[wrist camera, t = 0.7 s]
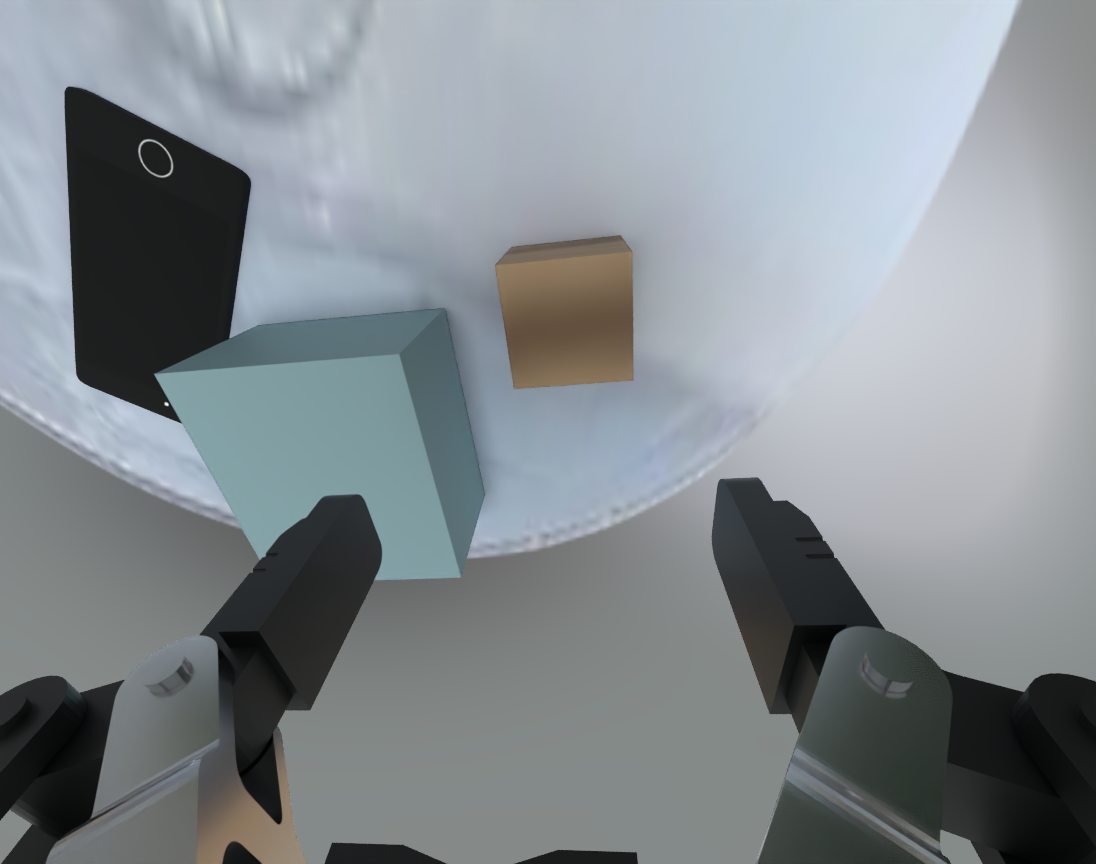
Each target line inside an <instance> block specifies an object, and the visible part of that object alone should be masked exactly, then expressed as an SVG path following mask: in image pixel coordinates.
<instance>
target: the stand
mask: <svg viewBox="0 0 1096 864" xmlns="http://www.w3.org/2000/svg"><path fill="white" fill-rule="evenodd" d="M154 375H155V377H156V378H157V380H158V382H159V384H160V385H161V387H162V389H163V391H164V392H165V394H166V396H167V398H168V399H169V401H170V403H171V405H172V406H173V408H174V410H175V412H176V413H177V415H178V417H179V419H180V420H181V422H182V424H183V426H184V428H185V429H186V431H187V433H188V435H189V436H190V438H191V440H192V442H193V443H194V445H195V447H196V449H197V450H198V452H199V454H200V456H201V457H202V459H203V461H204V463H205V464H206V466H207V468H208V470H209V471H210V473H211V475H212V477H213V478H214V480H215V482H216V484H217V485H218V487H219V489H220V491H221V492H222V494H223V496H224V498H225V499H226V501H227V503H228V505H229V506H230V508H231V510H232V512H233V513H234V515H235V517H236V519H237V521H238V522H239V524H240V526H241V528H242V529H243V531H244V533H245V535H246V536H247V538H248V540H249V541H250V543H251V545H252V547H253V549H254V550H255V552H256V554H257V556H258V557H259V559H260V560H261V558H262V557H265V556H266V552H267V551H268V550H269V548H270V547H271V546H272V545H273V544H274V542H275V541H276V540H277V539H278V537H279V536H280V535H281V534H282V533H284V532H285V531H286V530H288V529H289V528H290V527H292V526H293V525H294V524H295V523H297V522H298V521H299V520H301V519H303V518H306V517H307V516H308V514H309V513H310V512H311V511H312V509H313V508H314V507H315V505H316V504H317V503H318V502H319V500H320V499H321V498H322V497H324V496H328V495H349V494H359V495H361V496H362V497H363V498H364V500H365V502H366V505H367V507H368V510H369V513H370V515H371V518H372V521H373V523H374V526H375V529H376V531H377V534H378V536H379V539H380V542H381V546H382V561H381V566H380V569H379V571H378V573H377V575H376V577H375V579H374V580H393V579H394V580H395V579H427V578H459V577H461V576H462V572H463V569H464V565H465V562H466V558H467V555H468V551H469V548H470V545H471V541H472V538H473V534H474V531H475V527H476V524H477V520H478V517H479V513H480V510H481V506H482V503H483V499H484V496H485V494H484V489H483V484H482V480H481V475H480V470H479V466H478V461H477V456H476V451H475V447H474V442H473V437H472V433H471V428H470V423H469V419H468V414H467V409H466V405H465V400H464V395H463V391H462V386H461V381H460V377H459V372H458V367H457V363H456V358H455V353H454V349H453V344H452V339H451V335H450V330H449V325H448V321H447V316H446V311H445V308H441V309H430V310H419V311H408V312H397V313H386V314H376V315H365V316H354V317H343V318H332V319H321V320H310V321H299V322H288V323H277V324H266V325H258V326H256V327H254V328H252V329H249V330H247V331H245V332H243V333H241V334H239V335H237V336H234V337H232V338H230V339H228V340H226V341H224V342H222V343H220V344H217V345H215V346H213V347H211V348H209V349H207V350H205V351H202V352H200V353H198V354H196V355H194V356H192V357H190V358H187V359H185V360H183V361H181V362H179V363H177V364H175V365H173V366H170V367H168V368H166V369H164V370H162V371H160V372H158V373H155V374H154Z"/></svg>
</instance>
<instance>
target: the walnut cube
mask: <svg viewBox="0 0 1096 864" xmlns="http://www.w3.org/2000/svg"><path fill="white" fill-rule="evenodd" d="M495 268H496V274H497V281H498V288H499V294H500V301H501V307H502V314H503V320H504V327H505V333H506V340H507V346H508V353H509V359H510V366H511V372H512V379H513V386H514V389H521V388H534V387H548V386H562V385H576V384H590V383H603V382H617V381H631V380H633V291H632V251H631V249H630V248H629V247H628V245H627V244H626V242H625V241H624V240H623V238H622V237H621V236H611V237H602V238H592V239H582V240H573V241H563V242H554V243H544V244H535V245H525V246H515V247H511V248H510V249H509V251H508V252H507V253H506V254H505V255H504V256H503V257H502V258H501V259H500V260H499V262H498V263H497V264H496V265H495Z"/></svg>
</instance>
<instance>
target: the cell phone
mask: <svg viewBox="0 0 1096 864" xmlns="http://www.w3.org/2000/svg"><path fill="white" fill-rule="evenodd" d="M65 127H66V150H67V173H68V197H69V220H70V244H71V267H72V291H73V314H74V337H75V361H76V374H77V377H78V379H79V380H80V381H81V382H83V383H84V384H86V385H88V386H90V387H93V388H95V389H98V390H100V391H102V392H105V393H107V394H110V395H112V396H115V397H117V398H120V399H122V400H125V401H127V402H130V403H132V404H135V405H137V406H140V407H142V408H145V409H147V410H150V411H152V412H154V413H157V414H159V415H162V416H164V417H167V418H169V419H172V420H174V421H177V422H179V423H182V422H181V420H180V419H179V417H178V415H177V413H176V412H175V410H174V408H173V406H172V405H171V403H170V401H169V399H168V398H167V396H166V394H165V392H164V391H163V389H162V387H161V385H160V384H159V382H158V380H157V378H156V377H155V375H154V374H155V373H158V372H160V371H162V370H164V369H166V368H168V367H170V366H173V365H175V364H177V363H179V362H181V361H183V360H185V359H187V358H190V357H192V356H194V355H196V354H198V353H200V352H202V351H205V350H207V349H209V348H211V347H213V346H215V345H217V344H220V343H222V342H224V341H226V340H228V339H229V335H230V328H231V321H232V314H233V307H234V300H235V293H236V286H237V279H238V272H239V265H240V258H241V251H242V244H243V237H244V229H245V222H246V215H247V208H248V201H249V194H250V187H251V182H250V179H249V177H248V175H247V174H246V173H244V172H243V171H242V170H240V169H238V168H237V167H235V166H233V165H231V164H230V163H228V162H226V161H224V160H222V159H220V158H218V157H216V156H214V155H212V154H210V153H208V152H206V151H204V150H202V149H200V148H198V147H197V146H195V145H193V144H191V143H189V142H187V141H185V140H183V139H181V138H179V137H177V136H175V135H173V134H171V133H169V132H167V131H165V130H164V129H162V128H160V127H158V126H156V125H154V124H152V123H150V122H148V121H146V120H144V119H142V118H140V117H138V116H136V115H134V114H132V113H131V112H129V111H127V110H125V109H123V108H121V107H119V106H117V105H115V104H113V103H111V102H109V101H107V100H105V99H103V98H101V97H99V96H98V95H96V94H94V93H91V92H89V91H87V90H84V89H80V88H75V87H67V88H66V90H65Z"/></svg>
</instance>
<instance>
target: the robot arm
mask: <svg viewBox="0 0 1096 864" xmlns="http://www.w3.org/2000/svg"><path fill="white" fill-rule="evenodd" d="M712 546H713V553H714V558H715V561H716V564H717V567H718V570H719V573H720V576H721V578H722V581H723V584H724V587H725V590H726V592H727V595H728V598H729V601H730V604H731V606H732V609H733V612H734V615H735V618H736V620H737V623H738V626H739V629H740V632H741V634H742V637H743V640H744V643H745V646H746V648H747V651H748V654H749V657H750V660H751V662H752V665H753V668H754V671H755V674H756V677H757V679H758V682H759V685H760V688H761V691H762V693H763V696H764V699H765V702H766V704H767V707H768V710H769V713H770V714H792V717H793V719H794V722H795V725H796V727H797V729H798V732H799V737H798V740H797V743H796V746H795V749H794V752H793V755H792V758H791V760H790V764H789V767H788V770H787V772H786V775H785V778H784V781H783V784H782V787H781V790H780V793H779V796H778V799H777V802H776V805H775V808H774V811H773V814H772V817H771V819H770V822H769V825H768V828H767V831H766V834H765V837H764V840H763V843H762V846H761V849H760V852H759V855H758V858H757V861H756V864H951V863H950V861H949V860H948V858H946V857H945V856H943V855H942V853H941V849H940V831H941V830H944V831H947V832H950V833H952V834H955V835H958V836H960V837H963V838H966V839H969V840H970V841H971V843H972V845H973V847H974V848H975V850H976V852H977V854H978V856H979V857H980V859H981V861H982V863H983V864H1096V682H1095V681H1092V680H1089V679H1086V678H1082V677H1078V676H1074V675H1068V674H1060V673H1056V674H1046V675H1041V676H1040V677H1038V678H1036V679H1034V681H1033V682H1032V683H1031V684H1030V685H1029V687H1028V688H1027V689H1026V690H1025V692H1021V691H1017V690H1014V689H1009V688H1006V687H1002V686H998V685H994V684H990V683H986V682H983V681H979V680H975V679H971V678H967V677H963V676H960V675H956V674H953V673H950V672H947V671H944V670H942V669H941V668H940V667H939V666H938V665H937V663H936V662H935V661H934V660H933V659H932V658H931V657H930V656H929V655H927V654H926V653H925V652H924V651H923V650H921V649H920V648H918V646H916V645H915V644H913V643H911V642H910V641H908V640H906V639H905V638H902V637H901V636H899V635H897V634H894V633H892V632H889V631H886V630H885V629H884V627H883V626H882V625H881V623H880V622H879V620H878V619H877V617H876V616H875V614H874V613H873V611H872V610H871V608H870V607H869V605H868V604H867V602H866V601H865V599H864V598H863V596H862V595H861V593H860V592H859V590H858V589H857V588H856V586H855V585H854V583H853V581H852V580H851V578H850V577H849V576H848V574H847V573H846V571H845V570H844V568H843V567H842V565H841V564H840V562H839V561H838V559H837V558H834V553H833V552H832V550H831V549H830V547H829V546H828V544H827V543H826V541H823V539H822V535H821V534H820V533H819V531H818V530H817V528H816V526H815V525H814V523H813V522H812V521H811V519H810V518H809V517H808V516H807V515H806V514H804V513H803V512H802V511H800V510H799V509H798V508H797V507H795V506H794V505H793V504H791V503H790V502H788V501H773V500H772V498H771V497H770V495H769V493H768V492H767V490H766V488H765V487H764V485H763V484H762V482H761V480H760V479H759V478H733V479H720V480H719V482H718V487H717V495H716V503H715V512H714V520H713V529H712ZM381 561H382V546H381V542H380V539H379V536H378V534H377V531H376V529H375V526H374V523H373V521H372V518H371V515H370V513H369V510H368V507H367V505H366V502H365V500H364V498H363V497H362V496H361V495H359V494H349V495H328V496H324V497H322V498H321V499H320V500H319V502H318V503H317V504H316V505H315V507H314V508H313V509H312V511H311V512H310V513H309V514H308V516H307V517H306V518H303V519H301V520H299V521H298V522H297V523H295V524H294V525H293V526H292V527H290V528H289V529H288V530H286V531H285V532H284V533H282V534H281V535H280V536H279V537H278V539H277V540H276V541H275V542H274V544H273V545H272V546H271V547H270V548H269V550H268V551H267V552H266V556H265V557H262V558H261V560H260V561H259V562H258V563H257V565H256V566H255V567H254V568H253V573H249V574H248V576H247V577H246V578H245V579H244V581H243V582H242V583H241V584H240V586H239V587H238V588H237V589H236V591H235V592H234V593H233V595H232V596H231V597H230V598H229V599H228V600H227V602H226V603H225V604H224V605H223V607H222V608H221V609H220V610H219V612H218V613H217V614H216V615H215V617H214V618H213V619H212V620H211V621H210V623H209V624H208V625H207V626H206V628H205V629H204V630H203V631H202V633H201V634H200V635H199V636H191V637H187V638H183V639H180V640H178V641H175V642H173V643H170V644H169V645H167V646H165V647H163V648H161V649H159V650H158V651H156V652H155V653H153V654H152V655H150V656H149V657H148V658H146V659H145V660H144V661H143V662H142V663H141V664H139V665H138V666H137V667H136V668H135V669H134V670H133V671H132V672H131V673H130V674H129V676H128V677H127V678H126V679H125V680H122V681H119V682H116V683H112V684H109V685H105V686H102V687H98V688H95V689H91V690H88V691H85V692H81V693H79V692H78V691H77V690H76V689H75V688H74V687H72V686H71V685H70V684H69V683H68V682H67V681H66V680H65V679H64V678H62V677H59V676H46V677H41V678H37V679H34V680H31V681H28V682H26V683H23V684H21V685H19V686H17V687H15V688H13V689H11V690H9V691H7V692H5V693H4V694H2V695H0V820H1V819H2V818H3V816H4V815H5V814H6V813H7V812H8V811H9V810H11V811H13V812H14V813H16V814H17V815H19V816H20V817H22V818H23V819H25V820H27V821H28V822H30V823H31V824H32V825H31V827H30V828H29V829H28V830H27V832H26V833H25V834H24V835H23V837H22V838H21V839H20V841H19V842H18V843H17V844H16V846H15V847H14V848H13V850H12V851H11V852H10V853H9V855H8V856H7V857H6V859H5V860H4V861H3V862H2V864H307V861H306V858H305V856H304V853H303V851H302V849H301V847H300V845H299V842H298V839H297V836H296V832H295V827H294V821H293V813H292V806H291V799H290V791H289V784H288V777H287V769H286V762H285V755H284V747H283V740H282V734H281V731H280V729H279V727H278V726H277V725H278V722H279V721H280V719H281V717H282V715H283V713H284V712H285V710H310V709H311V707H312V705H313V703H314V701H315V699H316V697H317V695H318V693H319V691H320V689H321V687H322V685H323V683H324V681H325V679H326V677H327V675H328V673H329V671H330V669H331V667H332V665H333V662H334V661H335V659H336V657H337V654H338V653H339V650H340V648H341V646H342V644H343V642H344V640H345V638H346V636H347V634H348V632H349V630H350V628H351V626H352V624H353V622H354V620H355V618H356V616H357V614H358V612H359V609H360V607H361V606H362V603H363V602H364V600H365V598H366V595H367V594H368V591H369V589H370V587H371V585H372V583H373V581H374V579H375V577H376V575H377V573H378V571H379V569H380V566H381ZM325 864H446V863H444V862H441V861H439V860H437V859H434V858H432V857H430V856H428V855H425V854H423V853H420V852H418V851H416V850H414V849H411V848H409V847H406V846H404V845H387V844H386V845H385V844H355V843H332V845H331V847H330V850H329V853H328V856H327V858H326V861H325ZM516 864H638V861H637V853H636V852H604V851H603V852H602V851H574V850H557V851H554V852H550V853H547V854H544V855H541V856H538V857H534V858H531V859H528V860H525V861H522V862H519V863H516Z"/></svg>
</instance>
